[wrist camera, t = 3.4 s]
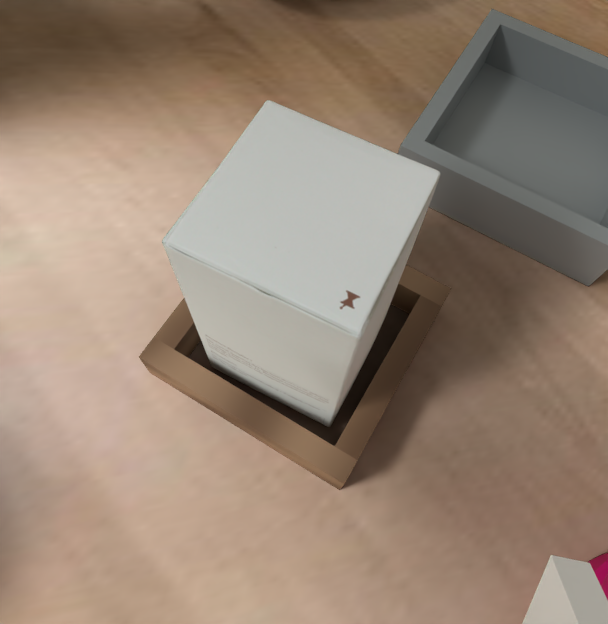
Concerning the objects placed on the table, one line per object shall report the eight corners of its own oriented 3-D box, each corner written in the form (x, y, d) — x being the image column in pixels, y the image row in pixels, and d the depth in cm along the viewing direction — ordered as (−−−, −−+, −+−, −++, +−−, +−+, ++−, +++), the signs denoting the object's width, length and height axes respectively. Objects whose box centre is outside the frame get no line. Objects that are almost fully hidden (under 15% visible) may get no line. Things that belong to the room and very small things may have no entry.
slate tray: (388, 186, 35) (400, 145, 31) (473, 57, 39) (492, 8, 36) (588, 286, 32) (625, 253, 29) (653, 136, 37) (691, 92, 33)
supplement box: (389, 314, 31) (452, 170, 20) (329, 432, 28) (361, 345, 17) (273, 258, 32) (267, 90, 21) (204, 365, 30) (154, 242, 18)
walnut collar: (150, 372, 29) (138, 356, 27) (266, 216, 33) (265, 191, 31) (339, 489, 27) (344, 483, 25) (439, 308, 31) (451, 288, 29)
